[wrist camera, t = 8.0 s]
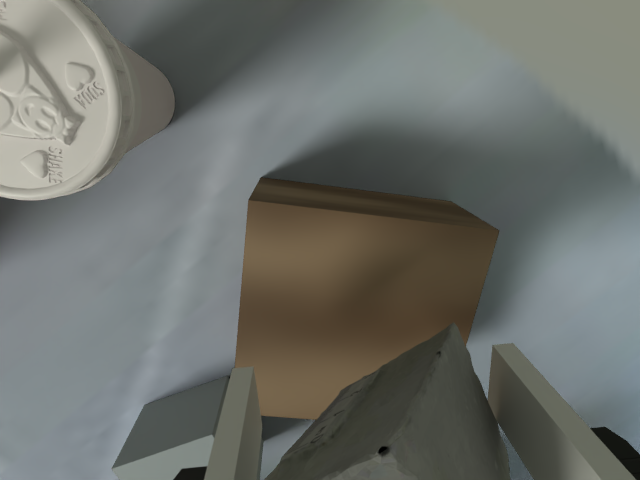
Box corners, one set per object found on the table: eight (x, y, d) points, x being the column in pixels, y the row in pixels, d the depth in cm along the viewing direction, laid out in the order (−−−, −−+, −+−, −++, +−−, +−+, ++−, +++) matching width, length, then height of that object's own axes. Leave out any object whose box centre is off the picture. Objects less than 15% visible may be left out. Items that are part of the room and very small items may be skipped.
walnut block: (410, 359, 26) (441, 428, 21) (246, 345, 25) (230, 413, 20) (449, 200, 23) (499, 230, 17) (261, 176, 22) (248, 200, 16)
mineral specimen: (407, 241, 13) (561, 431, 5) (507, 414, 15) (708, 707, 8) (225, 347, 14) (137, 637, 6) (349, 494, 16) (391, 824, 9)
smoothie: (106, -1, 19) (-372, -274, 5) (225, 81, 20) (80, 28, 7) (52, 116, 20) (-427, 130, 7) (165, 185, 21) (-48, 308, 8)
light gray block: (263, 439, 28) (256, 508, 23) (186, 466, 28) (163, 538, 23) (227, 374, 26) (212, 434, 21) (144, 403, 26) (111, 468, 21)
